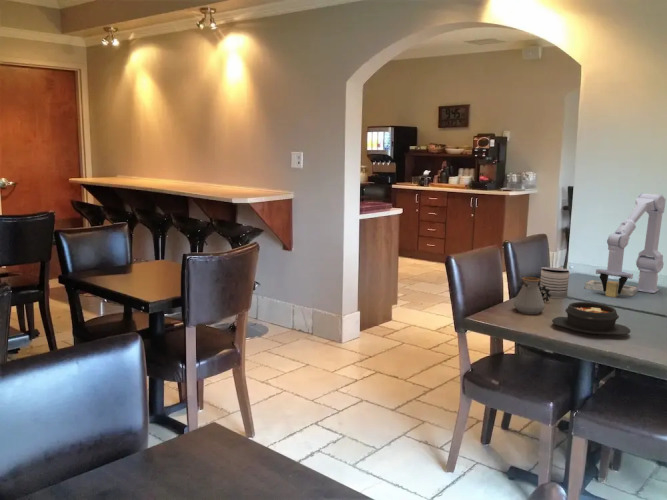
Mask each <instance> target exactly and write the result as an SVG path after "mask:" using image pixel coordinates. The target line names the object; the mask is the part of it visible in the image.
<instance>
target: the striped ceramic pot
mask: <svg viewBox="0 0 667 500" xmlns="http://www.w3.org/2000/svg"><path fill="white" fill-rule="evenodd" d="M540 269H541V271H540V278H539V279H540V281H539V287H541V289H543V288H542V287H543V286H545V287H546V290H547V289H549V290H550V292H548V293H549V294H551V297H548V299H550V298H551V299H565V298H567V297H568V289H569V278H570V269H567V268H561V267H548V266H546V267H545V266H544V267H542V268H540ZM541 292H544V293H546V291H544V290H542V291H541ZM546 296H547V294H545V296H544V298H546Z"/></svg>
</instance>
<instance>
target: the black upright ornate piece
mask: <svg viewBox="0 0 667 500" xmlns="http://www.w3.org/2000/svg"><path fill="white" fill-rule="evenodd" d="M538 287H539V289H540V292H541V291H542V290H544V291H546V293H544V292H541V295H542V298H543V301H544V302H545V301H546V302H549V301H550V298H549V297H551V294H549V293H548V292H550V290H549V289H547V290H546V287H545V286H543V287H542V288H543V289H541V287H540V286H538ZM545 294H547V296H546V297H545Z"/></svg>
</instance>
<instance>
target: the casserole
mask: <svg viewBox="0 0 667 500" xmlns="http://www.w3.org/2000/svg"><path fill="white" fill-rule="evenodd" d="M565 313H566V315H567V316H557V317H555V318H553V319H551V320H552V321H551V322H552V323H553V324H554V325H556V326H558V327H562V328H567V329H570V330H573V331H574V332H578V333H580V334H585V335H588V336H590V335H591V336H605V335H606V336H607V335H615V336H616V335H617V336H625V335H629V334H630V333H631V329H630V328H629V327H628V326H626V325H622V324H619V323H616V322H617V320H618V319H619V318H620V316H619V315H618V313H617V310H616V309H615V308H614V307H612V306H609V305H606V304H601V303H596V302H588V301H587V302H586V301H581V302H580V301H578V302H577V301H576V302H571V303H569V304H568V306H567V307H566V308H565Z"/></svg>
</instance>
